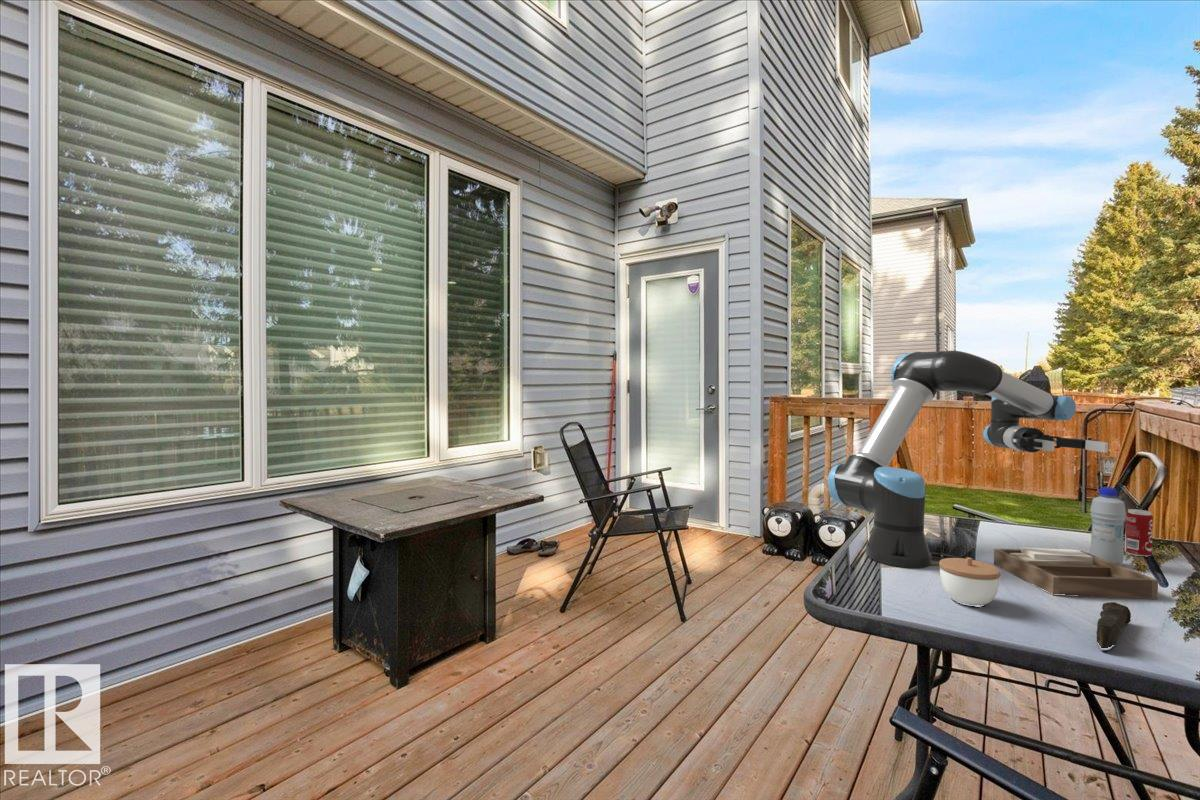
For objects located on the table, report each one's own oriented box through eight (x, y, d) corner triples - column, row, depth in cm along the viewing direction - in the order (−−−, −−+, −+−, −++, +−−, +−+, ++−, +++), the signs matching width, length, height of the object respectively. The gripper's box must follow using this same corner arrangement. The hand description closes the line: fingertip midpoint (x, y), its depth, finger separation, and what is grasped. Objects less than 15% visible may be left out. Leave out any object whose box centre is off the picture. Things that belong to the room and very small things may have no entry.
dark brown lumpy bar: (1102, 618, 107) (1103, 595, 107) (1130, 625, 104) (1131, 601, 104) (1081, 648, 96) (1082, 622, 95) (1112, 657, 92) (1113, 630, 92)
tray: (993, 564, 138) (994, 548, 138) (1082, 566, 137) (1082, 551, 136) (1052, 595, 118) (1053, 577, 118) (1157, 598, 117) (1158, 580, 116)
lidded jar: (998, 599, 116) (999, 556, 116) (1000, 616, 107) (1001, 570, 107) (939, 588, 122) (940, 547, 122) (937, 604, 113) (938, 560, 113)
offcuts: (1006, 562, 137) (1007, 546, 137) (1079, 564, 135) (1079, 548, 135) (1026, 572, 130) (1026, 555, 130) (1102, 574, 128) (1103, 557, 128)
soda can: (1139, 552, 148) (1141, 508, 148) (1157, 558, 143) (1159, 513, 143) (1119, 551, 149) (1120, 508, 149) (1136, 557, 144) (1137, 512, 143)
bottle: (1082, 562, 140) (1085, 486, 139) (1096, 559, 142) (1099, 483, 142) (1116, 571, 134) (1119, 490, 133) (1129, 567, 136) (1132, 488, 136)
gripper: (1067, 452, 167) (1128, 461, 146) (982, 450, 169) (1030, 459, 148) (1068, 427, 167) (1129, 434, 146) (982, 426, 169) (1031, 432, 148)
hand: (1079, 447), depth 147 cm, fingers open, 13 cm apart
